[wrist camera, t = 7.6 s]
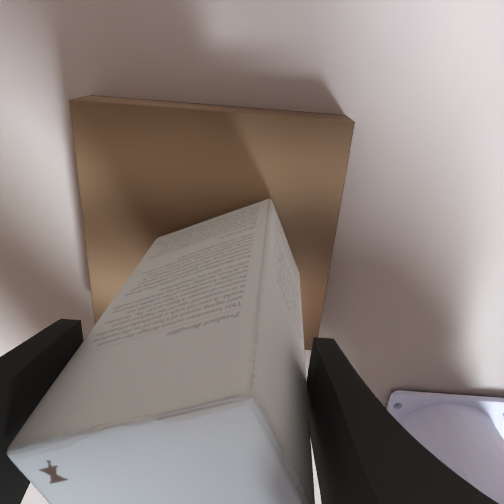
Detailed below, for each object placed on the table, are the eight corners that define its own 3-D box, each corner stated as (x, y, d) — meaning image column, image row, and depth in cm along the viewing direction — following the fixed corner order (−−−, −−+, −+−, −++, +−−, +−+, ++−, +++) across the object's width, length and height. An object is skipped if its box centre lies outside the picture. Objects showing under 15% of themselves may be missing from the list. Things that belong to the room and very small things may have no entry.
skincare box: (193, 306, 21) (92, 564, 10) (155, 235, 20) (-9, 451, 9) (305, 273, 20) (321, 530, 9) (274, 193, 18) (250, 390, 7)
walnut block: (310, 318, 25) (315, 350, 22) (114, 303, 25) (96, 333, 22) (342, 113, 20) (354, 121, 17) (96, 94, 20) (69, 99, 17)
